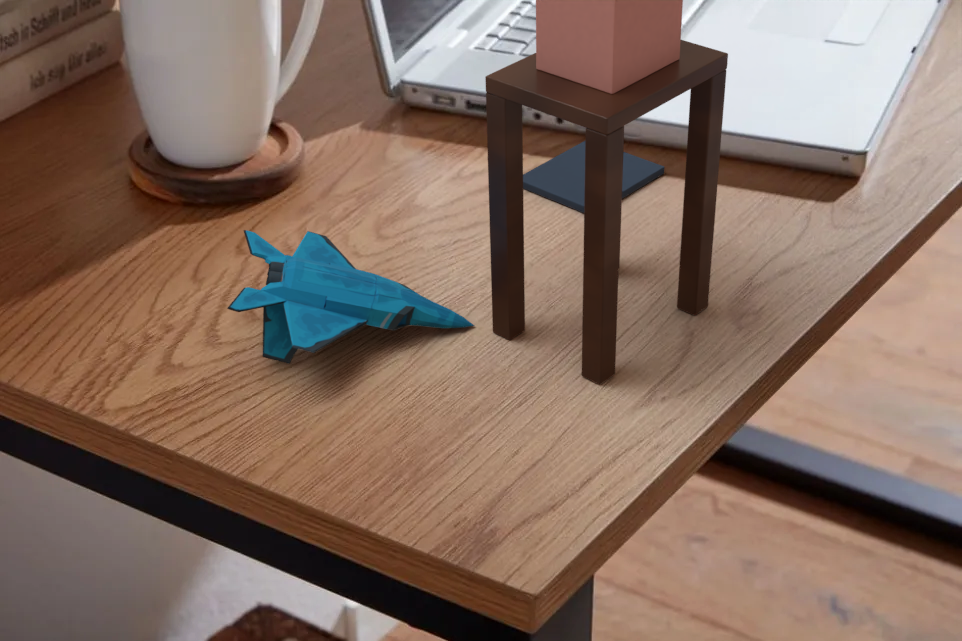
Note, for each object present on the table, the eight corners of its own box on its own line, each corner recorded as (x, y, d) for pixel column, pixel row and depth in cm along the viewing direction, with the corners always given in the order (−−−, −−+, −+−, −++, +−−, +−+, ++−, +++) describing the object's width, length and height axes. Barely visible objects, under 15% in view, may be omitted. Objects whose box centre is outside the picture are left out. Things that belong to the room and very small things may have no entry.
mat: (664, 173, 82) (664, 166, 81) (592, 217, 78) (592, 209, 77) (588, 145, 85) (588, 138, 85) (515, 185, 81) (515, 178, 81)
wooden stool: (708, 306, 69) (728, 53, 62) (600, 385, 64) (607, 118, 56) (602, 261, 73) (608, 17, 66) (492, 332, 68) (484, 75, 60)
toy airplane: (276, 415, 63) (267, 342, 60) (183, 323, 69) (171, 253, 67) (475, 328, 69) (474, 259, 66) (371, 250, 75) (367, 184, 73)
